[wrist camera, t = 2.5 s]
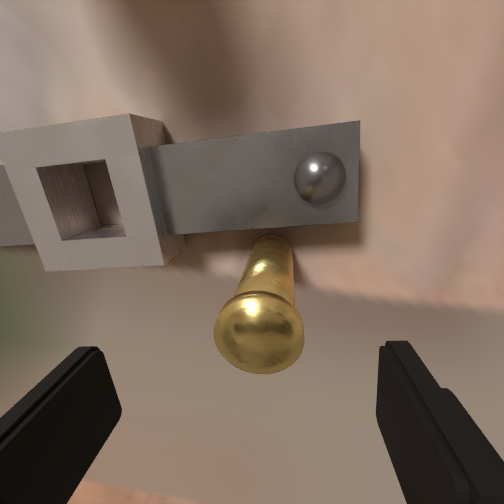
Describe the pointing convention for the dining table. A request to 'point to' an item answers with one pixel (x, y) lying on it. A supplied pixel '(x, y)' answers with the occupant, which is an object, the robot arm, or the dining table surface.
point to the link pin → (262, 312)
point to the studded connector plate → (167, 187)
